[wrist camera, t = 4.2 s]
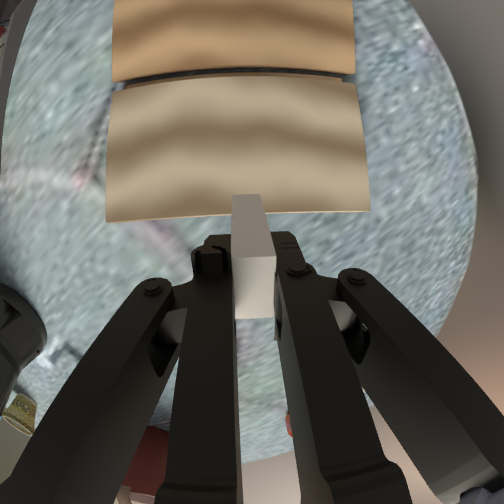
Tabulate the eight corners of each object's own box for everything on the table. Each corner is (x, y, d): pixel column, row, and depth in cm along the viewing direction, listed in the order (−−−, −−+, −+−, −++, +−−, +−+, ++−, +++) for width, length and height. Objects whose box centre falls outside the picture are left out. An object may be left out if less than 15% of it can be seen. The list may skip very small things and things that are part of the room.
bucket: (193, 456, 63) (192, 529, 42) (120, 445, 61) (111, 515, 39) (189, 424, 52) (187, 526, 30) (96, 409, 49) (77, 502, 27)
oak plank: (347, 74, 22) (355, 73, 20) (120, 82, 21) (112, 81, 19) (343, -8, 17) (350, -14, 15) (122, -2, 16) (115, -8, 14)
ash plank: (360, 211, 24) (370, 210, 22) (115, 222, 23) (105, 222, 21) (346, 85, 23) (353, 77, 21) (121, 93, 22) (114, 85, 20)
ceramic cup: (29, 392, 47) (18, 421, 39) (48, 412, 52) (39, 439, 44) (2, 383, 47) (-9, 409, 38) (20, 403, 52) (11, 428, 43)
